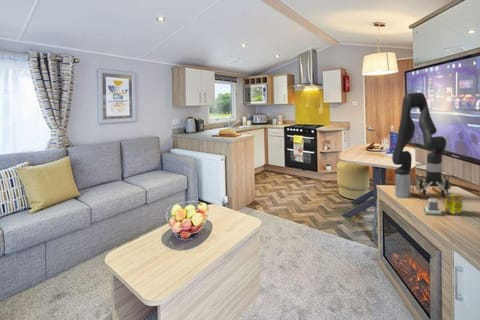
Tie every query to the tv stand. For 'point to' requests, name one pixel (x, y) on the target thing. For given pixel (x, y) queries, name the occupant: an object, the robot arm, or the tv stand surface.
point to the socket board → (433, 212)
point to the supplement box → (453, 204)
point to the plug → (433, 205)
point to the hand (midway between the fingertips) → (433, 195)
